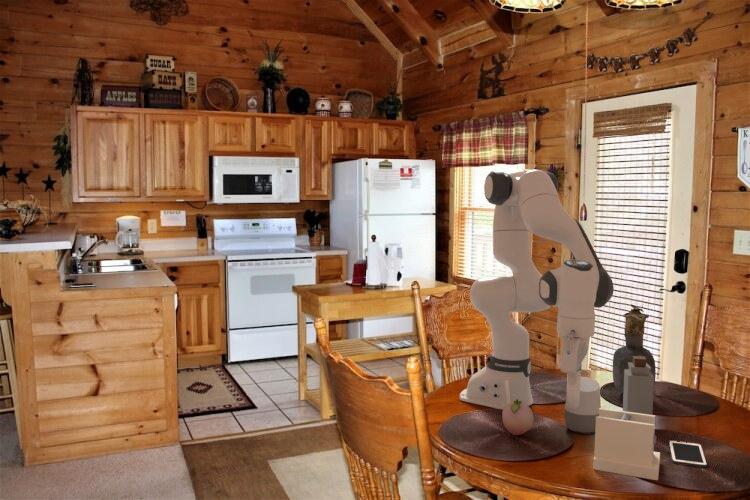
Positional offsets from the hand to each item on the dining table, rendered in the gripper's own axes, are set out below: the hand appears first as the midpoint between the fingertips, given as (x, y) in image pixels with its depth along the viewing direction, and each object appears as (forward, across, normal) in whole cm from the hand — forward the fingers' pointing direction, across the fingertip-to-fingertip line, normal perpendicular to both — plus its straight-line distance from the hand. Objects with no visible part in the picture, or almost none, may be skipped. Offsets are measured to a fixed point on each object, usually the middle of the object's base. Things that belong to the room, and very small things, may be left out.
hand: (573, 381), depth 163 cm
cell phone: (+19, +11, -26) cm, 34 cm away
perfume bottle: (+19, +33, -13) cm, 41 cm away
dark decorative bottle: (+20, +53, -10) cm, 58 cm away
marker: (+6, 0, 0) cm, 6 cm away
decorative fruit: (+19, +5, +15) cm, 24 cm away
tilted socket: (+18, -3, -13) cm, 23 cm away
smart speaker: (+19, +17, 0) cm, 26 cm away
